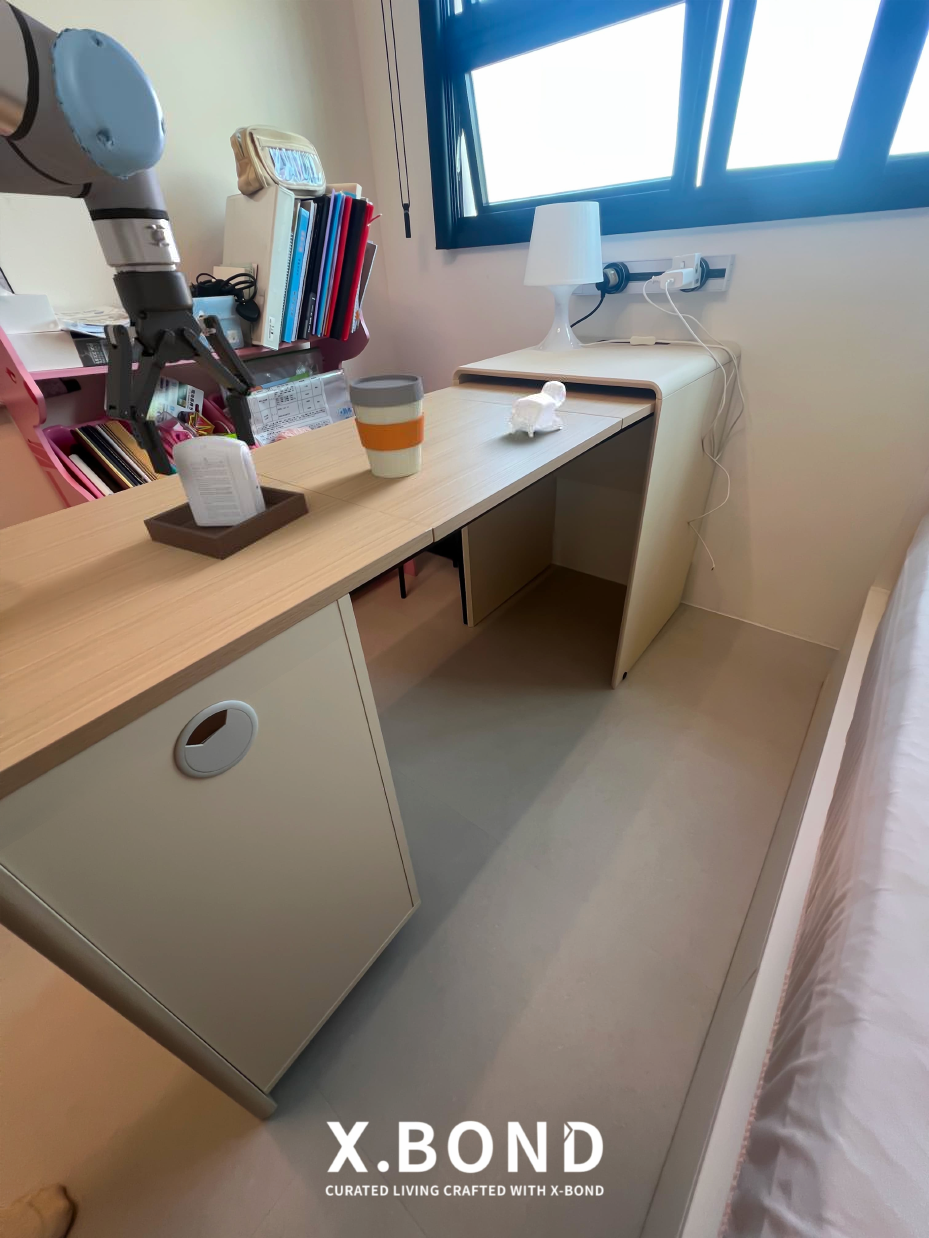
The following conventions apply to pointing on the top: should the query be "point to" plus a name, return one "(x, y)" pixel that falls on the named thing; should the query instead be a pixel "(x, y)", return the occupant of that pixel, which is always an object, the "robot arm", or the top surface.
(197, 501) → the photo printer
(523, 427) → the white animal figurine
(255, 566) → the top surface
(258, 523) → the tray
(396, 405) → the reusable coffee cup
